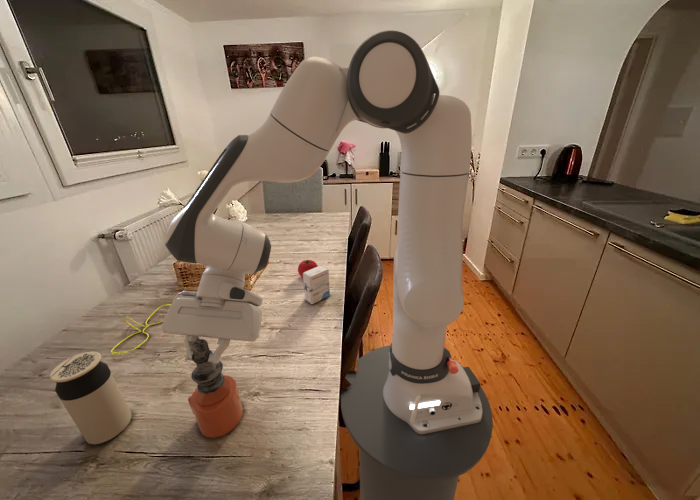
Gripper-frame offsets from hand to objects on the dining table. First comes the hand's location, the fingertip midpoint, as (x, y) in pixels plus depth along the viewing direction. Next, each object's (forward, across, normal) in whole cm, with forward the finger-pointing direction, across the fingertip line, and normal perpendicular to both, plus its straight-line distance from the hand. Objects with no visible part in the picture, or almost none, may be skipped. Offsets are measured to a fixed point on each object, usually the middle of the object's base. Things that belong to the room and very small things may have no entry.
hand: (202, 361), depth 55 cm
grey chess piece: (+4, 0, +5) cm, 7 cm away
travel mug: (+16, -24, +9) cm, 30 cm away
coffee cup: (+12, 0, +12) cm, 17 cm away
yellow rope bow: (-6, -43, +30) cm, 53 cm away
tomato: (-35, 0, +59) cm, 69 cm away
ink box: (-23, +9, +48) cm, 54 cm away
